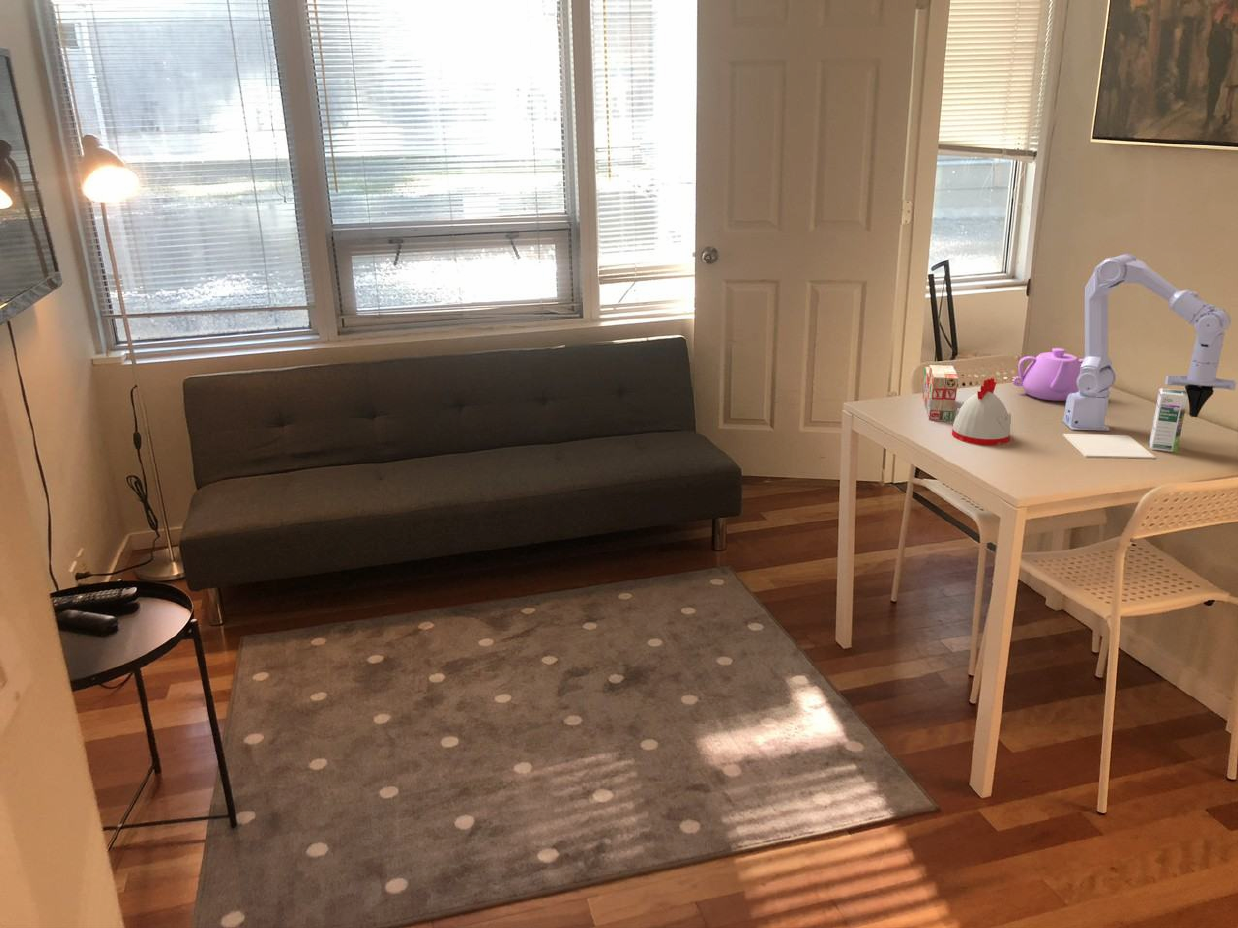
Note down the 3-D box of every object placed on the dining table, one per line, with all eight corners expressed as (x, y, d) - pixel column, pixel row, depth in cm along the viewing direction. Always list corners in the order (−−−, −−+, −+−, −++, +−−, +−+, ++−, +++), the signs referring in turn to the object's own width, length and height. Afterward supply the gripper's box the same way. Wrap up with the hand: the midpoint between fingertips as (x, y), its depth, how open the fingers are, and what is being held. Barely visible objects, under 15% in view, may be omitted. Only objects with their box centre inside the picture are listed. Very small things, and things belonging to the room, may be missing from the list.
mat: (1085, 457, 233) (1085, 455, 233) (1062, 435, 248) (1063, 433, 248) (1155, 458, 232) (1155, 457, 231) (1128, 436, 246) (1128, 435, 246)
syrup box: (1150, 450, 237) (1161, 393, 232) (1148, 442, 242) (1159, 386, 237) (1176, 453, 235) (1188, 395, 230) (1174, 445, 240) (1186, 389, 235)
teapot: (1018, 406, 271) (1025, 358, 266) (1007, 385, 291) (1013, 340, 286) (1103, 411, 266) (1112, 362, 262) (1086, 389, 286) (1093, 343, 281)
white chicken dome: (1018, 436, 248) (1027, 379, 242) (993, 449, 239) (1001, 390, 233) (967, 424, 257) (974, 369, 252) (941, 436, 248) (948, 379, 243)
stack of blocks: (921, 398, 280) (926, 356, 275) (944, 399, 279) (949, 357, 274) (928, 420, 260) (933, 376, 256) (953, 422, 259) (958, 377, 255)
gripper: (1235, 359, 232) (1222, 413, 237) (1167, 355, 236) (1156, 408, 241) (1243, 366, 226) (1230, 422, 230) (1173, 362, 230) (1162, 416, 235)
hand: (1193, 415), depth 235 cm, fingers closed
